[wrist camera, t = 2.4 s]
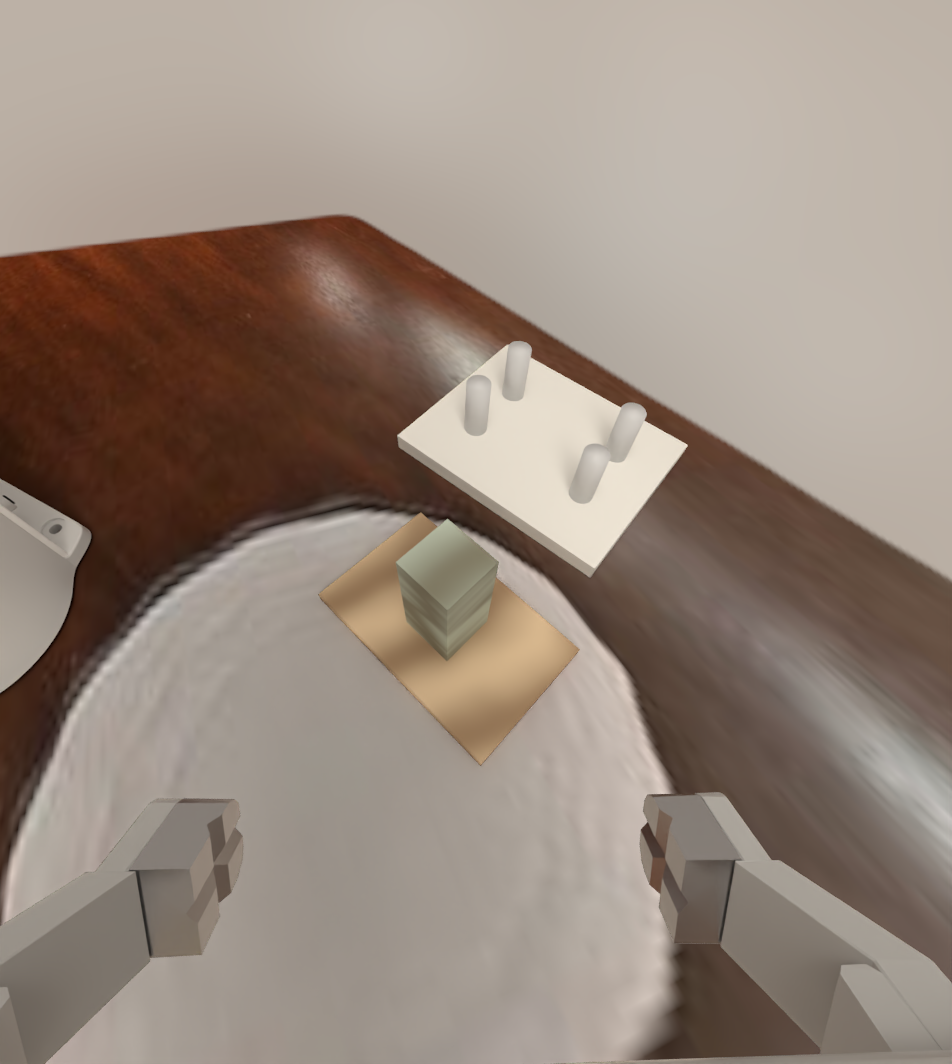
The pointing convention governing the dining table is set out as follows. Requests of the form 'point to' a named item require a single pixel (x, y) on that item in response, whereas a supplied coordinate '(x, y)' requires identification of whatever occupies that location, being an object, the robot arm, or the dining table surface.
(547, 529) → the peg plate
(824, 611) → the dining table surface
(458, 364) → the dining table surface
